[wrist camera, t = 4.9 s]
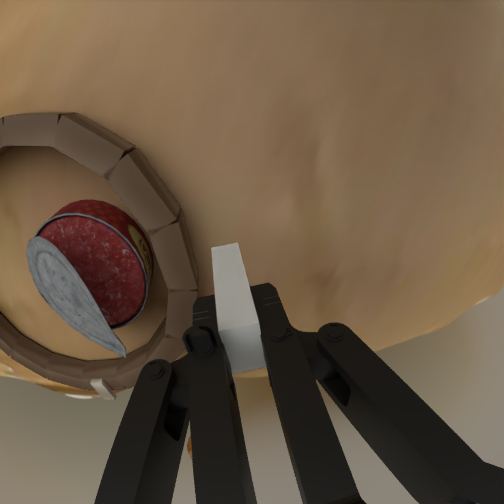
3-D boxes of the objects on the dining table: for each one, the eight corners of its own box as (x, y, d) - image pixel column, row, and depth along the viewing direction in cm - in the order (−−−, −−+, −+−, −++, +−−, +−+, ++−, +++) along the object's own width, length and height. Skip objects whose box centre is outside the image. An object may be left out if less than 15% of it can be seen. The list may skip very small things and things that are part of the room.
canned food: (145, 273, 26) (130, 374, 20) (53, 243, 21) (23, 342, 16) (184, 200, 18) (160, 353, 12) (50, 155, 13) (-22, 293, 8)
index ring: (-66, 182, 11) (-99, 202, 6) (150, 55, 13) (128, 33, 8) (37, 378, 25) (26, 410, 20) (227, 363, 26) (234, 409, 22)
